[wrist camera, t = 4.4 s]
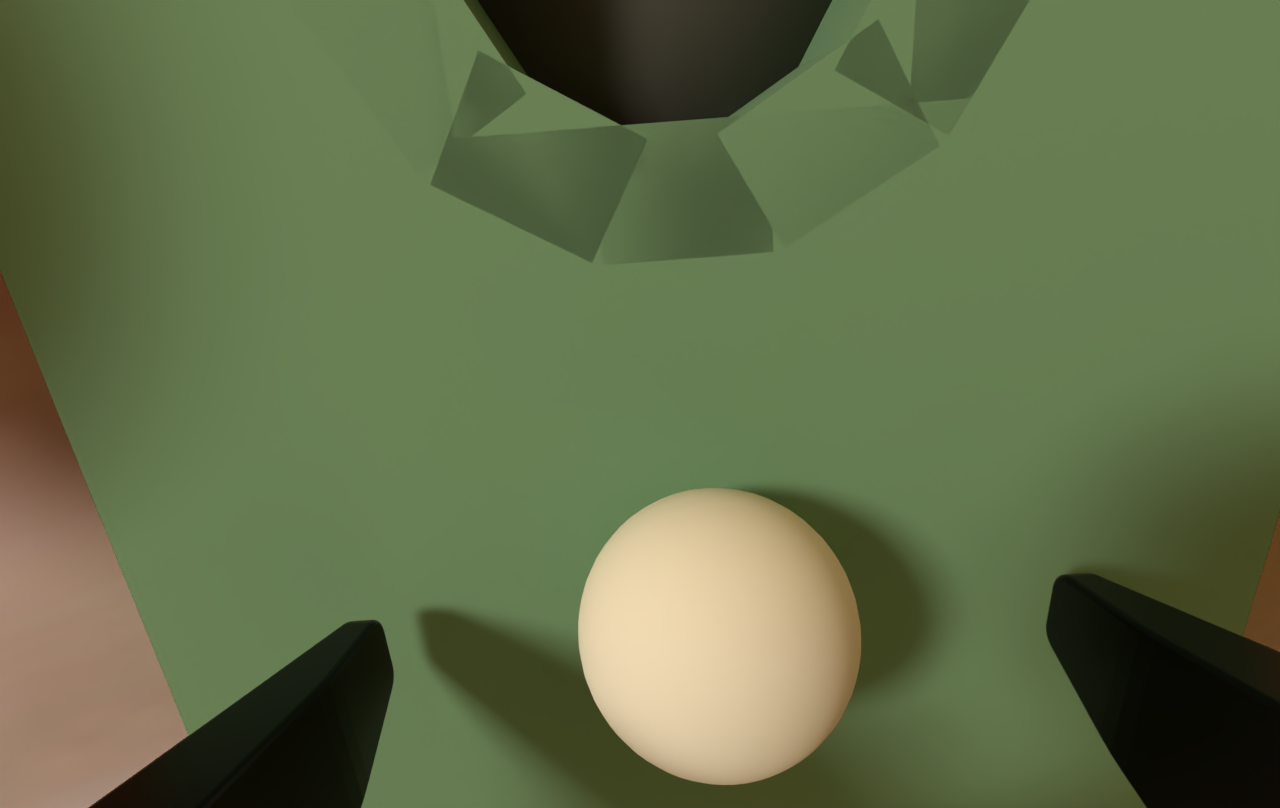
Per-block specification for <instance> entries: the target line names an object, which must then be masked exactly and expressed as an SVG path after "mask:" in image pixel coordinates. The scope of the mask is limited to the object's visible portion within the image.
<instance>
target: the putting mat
mask: <svg viewBox="0 0 1280 808" xmlns="http://www.w3.org/2000/svg"><path fill="white" fill-rule="evenodd" d="M0 272H1V274H2V277H3V279H4V282H5V284H6V286H7V289H8V291H9V294H10V296H11V299H12V301H13V304H14V306H15V309H16V311H17V314H18V316H19V319H20V321H21V323H22V326H23V328H24V331H25V333H26V336H27V338H28V341H29V343H30V346H31V348H32V351H33V353H34V356H35V358H36V360H37V363H38V365H39V368H40V370H41V373H42V375H43V378H44V380H45V383H46V385H47V388H48V390H49V392H50V395H51V397H52V400H53V402H54V405H55V407H56V410H57V412H58V415H59V417H60V420H61V422H62V425H63V427H64V429H65V432H66V434H67V437H68V439H69V442H70V444H71V447H72V449H73V452H74V454H75V457H76V459H77V461H78V464H79V466H80V469H81V471H82V474H83V476H84V479H85V481H86V484H87V486H88V489H89V491H90V494H91V496H92V498H93V501H94V503H95V506H96V508H97V511H98V513H99V516H100V518H101V521H102V523H103V526H104V528H105V530H106V533H107V535H108V538H109V540H110V543H111V545H112V548H113V550H114V553H115V555H116V558H117V560H118V563H119V565H120V567H121V570H122V572H123V575H124V577H125V580H126V582H127V585H128V587H129V590H130V592H131V595H132V597H133V600H134V602H135V604H136V607H137V609H138V612H139V614H140V617H141V619H142V622H143V624H144V627H145V629H146V632H147V634H148V636H149V639H150V641H151V644H152V646H153V649H154V651H155V654H156V656H157V659H158V661H159V664H160V666H161V669H162V671H163V673H164V676H165V678H166V681H167V683H168V686H169V688H170V691H171V693H172V696H173V698H174V701H175V703H176V705H177V708H178V710H179V713H180V715H181V718H182V720H183V723H184V725H185V728H186V730H187V733H188V735H190V734H192V733H193V732H194V731H196V730H197V729H199V728H200V727H201V726H203V725H204V724H206V723H207V722H208V721H210V720H211V719H213V718H214V717H215V716H217V715H218V714H220V713H221V712H222V711H224V710H225V709H226V708H228V707H229V706H231V705H232V704H233V703H235V702H236V701H238V700H239V699H240V698H242V697H243V696H245V695H246V694H247V693H249V692H250V691H252V690H253V689H254V688H256V687H257V686H258V685H260V684H261V683H263V682H264V681H265V680H267V679H268V678H270V677H271V676H272V675H274V674H275V673H277V672H278V671H279V670H281V669H282V668H283V667H285V666H286V665H288V664H289V663H290V662H292V661H293V660H295V659H296V658H297V657H299V656H300V655H302V654H303V653H304V652H306V651H307V650H308V649H310V648H311V647H313V646H314V645H315V644H317V643H318V642H320V641H321V640H322V639H324V638H325V637H327V636H328V635H329V634H331V633H332V632H333V631H335V630H336V629H338V628H339V627H340V626H342V625H343V624H345V623H347V622H349V621H359V620H377V621H379V622H380V623H381V624H382V626H383V629H384V632H385V636H386V640H387V644H388V648H389V652H390V656H391V660H392V664H393V669H394V682H393V688H392V692H391V696H390V700H389V704H388V708H387V712H386V716H385V720H384V724H383V728H382V732H381V736H380V740H379V744H378V748H377V751H376V755H375V759H374V763H373V767H372V771H371V775H370V779H369V783H368V787H367V790H366V794H365V797H364V801H363V804H362V807H361V808H1146V806H1145V805H1144V803H1143V802H1142V800H1141V799H1140V798H1139V796H1138V795H1137V793H1136V792H1135V790H1134V789H1133V787H1132V786H1131V784H1130V783H1129V781H1128V780H1127V778H1126V777H1125V775H1124V774H1123V772H1122V771H1121V769H1120V768H1119V766H1118V765H1117V763H1116V761H1115V760H1114V758H1113V757H1112V755H1111V754H1110V752H1109V750H1108V749H1107V747H1106V745H1105V744H1104V742H1103V740H1102V738H1101V737H1100V735H1099V733H1098V731H1097V730H1096V728H1095V726H1094V724H1093V722H1092V720H1091V719H1090V717H1089V715H1088V713H1087V711H1086V710H1085V708H1084V706H1083V704H1082V702H1081V700H1080V699H1079V697H1078V695H1077V693H1076V691H1075V689H1074V688H1073V686H1072V684H1071V682H1070V680H1069V678H1068V677H1067V675H1066V673H1065V671H1064V669H1063V668H1062V666H1061V664H1060V662H1059V660H1058V658H1057V657H1056V655H1055V653H1054V651H1053V649H1052V647H1051V645H1050V643H1049V641H1048V638H1047V633H1046V621H1047V616H1048V610H1049V605H1050V599H1051V594H1052V588H1053V584H1054V581H1055V580H1056V578H1057V577H1058V576H1060V575H1063V574H1075V573H1093V574H1096V575H1098V576H1101V577H1103V578H1105V579H1108V580H1110V581H1113V582H1115V583H1117V584H1120V585H1122V586H1124V587H1127V588H1129V589H1131V590H1134V591H1136V592H1139V593H1141V594H1143V595H1146V596H1148V597H1150V598H1153V599H1155V600H1158V601H1160V602H1162V603H1165V604H1167V605H1169V606H1172V607H1174V608H1176V609H1179V610H1181V611H1184V612H1186V613H1188V614H1191V615H1193V616H1195V617H1198V618H1200V619H1203V620H1205V621H1207V622H1210V623H1212V624H1214V625H1217V626H1219V627H1222V628H1224V629H1226V630H1229V631H1231V632H1233V633H1236V634H1238V635H1240V636H1243V633H1244V629H1245V626H1246V623H1247V619H1248V616H1249V613H1250V609H1251V606H1252V603H1253V599H1254V596H1255V593H1256V589H1257V586H1258V583H1259V579H1260V576H1261V573H1262V569H1263V566H1264V563H1265V560H1266V556H1267V553H1268V550H1269V546H1270V543H1271V540H1272V536H1273V533H1274V530H1275V526H1276V523H1277V520H1278V516H1279V513H1280V0H0ZM700 488H726V489H736V490H741V491H746V492H750V493H754V494H757V495H760V496H762V497H765V498H768V499H770V500H772V501H774V502H776V503H778V504H780V505H782V506H784V507H785V508H787V509H789V510H790V511H792V512H793V513H795V514H796V515H798V516H799V517H800V518H802V519H803V520H804V521H805V522H806V523H807V524H808V525H810V526H811V527H812V528H813V529H814V530H815V531H816V532H817V533H818V534H819V535H820V536H821V537H822V538H823V539H824V541H825V542H826V543H827V545H828V546H829V547H830V548H831V550H832V551H833V553H834V554H835V556H836V557H837V559H838V560H839V562H840V564H841V566H842V567H843V569H844V571H845V573H846V575H847V578H848V580H849V583H850V585H851V588H852V591H853V594H854V596H855V599H856V604H857V610H858V615H859V620H860V625H861V658H860V665H859V671H858V675H857V680H856V683H855V687H854V690H853V694H852V696H851V698H850V700H849V702H848V705H847V707H846V709H845V711H844V713H843V715H842V717H841V719H840V720H839V722H838V723H837V725H836V726H835V728H834V729H833V731H832V732H831V733H830V734H829V735H828V736H827V738H826V739H825V740H824V741H823V742H822V743H821V745H820V746H819V747H818V748H817V749H816V750H814V751H813V752H812V753H811V754H810V755H809V756H808V757H806V758H805V759H803V760H802V761H801V762H799V763H798V764H796V765H794V766H792V767H791V768H789V769H787V770H785V771H783V772H781V773H779V774H776V775H774V776H772V777H769V778H766V779H763V780H760V781H756V782H751V783H746V784H737V785H715V784H706V783H700V782H695V781H690V780H687V779H683V778H680V777H677V776H675V775H672V774H670V773H667V772H666V771H664V770H662V769H660V768H658V767H657V766H655V765H653V764H651V763H650V762H648V761H646V760H645V759H643V758H642V757H641V756H639V755H638V754H637V753H635V752H634V751H633V750H632V749H631V748H630V747H629V746H628V745H627V744H626V743H625V742H624V741H623V740H622V739H621V738H620V737H619V736H618V735H617V734H616V733H615V732H614V730H613V729H612V728H611V727H610V725H609V724H608V722H607V721H606V719H605V718H604V716H603V715H602V713H601V712H600V710H599V708H598V706H597V705H596V703H595V701H594V699H593V696H592V694H591V691H590V689H589V686H588V684H587V681H586V678H585V676H584V671H583V667H582V662H581V657H580V651H579V639H578V619H579V610H580V604H581V599H582V594H583V591H584V587H585V584H586V580H587V578H588V576H589V573H590V571H591V569H592V567H593V565H594V562H595V560H596V558H597V556H598V555H599V553H600V552H601V550H602V548H603V547H604V545H605V544H606V543H607V541H608V540H609V539H610V538H611V537H612V535H613V534H614V533H615V532H616V531H617V530H618V528H619V527H620V526H621V525H622V524H624V523H625V522H626V521H627V520H628V519H629V518H630V517H631V516H633V515H634V514H636V513H637V512H639V511H640V510H641V509H643V508H645V507H646V506H648V505H650V504H652V503H654V502H656V501H658V500H660V499H662V498H664V497H667V496H670V495H672V494H675V493H679V492H683V491H687V490H693V489H700Z"/></svg>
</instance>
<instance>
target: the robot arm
mask: <svg viewBox="0 0 1280 808" xmlns="http://www.w3.org/2000/svg"><path fill="white" fill-rule="evenodd" d="M1046 633H1047V638H1048V641H1049V643H1050V645H1051V647H1052V649H1053V651H1054V653H1055V655H1056V657H1057V658H1058V660H1059V662H1060V664H1061V666H1062V668H1063V669H1064V671H1065V673H1066V675H1067V677H1068V678H1069V680H1070V682H1071V684H1072V686H1073V688H1074V689H1075V691H1076V693H1077V695H1078V697H1079V699H1080V700H1081V702H1082V704H1083V706H1084V708H1085V710H1086V711H1087V713H1088V715H1089V717H1090V719H1091V720H1092V722H1093V724H1094V726H1095V728H1096V730H1097V731H1098V733H1099V735H1100V737H1101V738H1102V740H1103V742H1104V744H1105V745H1106V747H1107V749H1108V750H1109V752H1110V754H1111V755H1112V757H1113V758H1114V760H1115V761H1116V763H1117V765H1118V766H1119V768H1120V769H1121V771H1122V772H1123V774H1124V775H1125V777H1126V778H1127V780H1128V781H1129V783H1130V784H1131V786H1132V787H1133V789H1134V790H1135V792H1136V793H1137V795H1138V796H1139V798H1140V799H1141V800H1142V802H1143V803H1144V805H1145V806H1146V808H1280V652H1278V651H1276V650H1274V649H1271V648H1269V647H1267V646H1264V645H1262V644H1259V643H1257V642H1255V641H1252V640H1250V639H1248V638H1245V637H1243V636H1240V635H1238V634H1236V633H1233V632H1231V631H1229V630H1226V629H1224V628H1222V627H1219V626H1217V625H1214V624H1212V623H1210V622H1207V621H1205V620H1203V619H1200V618H1198V617H1195V616H1193V615H1191V614H1188V613H1186V612H1184V611H1181V610H1179V609H1176V608H1174V607H1172V606H1169V605H1167V604H1165V603H1162V602H1160V601H1158V600H1155V599H1153V598H1150V597H1148V596H1146V595H1143V594H1141V593H1139V592H1136V591H1134V590H1131V589H1129V588H1127V587H1124V586H1122V585H1120V584H1117V583H1115V582H1113V581H1110V580H1108V579H1105V578H1103V577H1101V576H1098V575H1096V574H1093V573H1075V574H1063V575H1060V576H1058V577H1057V578H1056V580H1055V581H1054V584H1053V588H1052V594H1051V599H1050V605H1049V610H1048V616H1047V621H1046ZM393 682H394V669H393V664H392V660H391V656H390V652H389V648H388V644H387V640H386V636H385V632H384V629H383V626H382V624H381V623H380V622H379V621H377V620H359V621H349V622H347V623H345V624H343V625H342V626H340V627H339V628H338V629H336V630H335V631H333V632H332V633H331V634H329V635H328V636H327V637H325V638H324V639H322V640H321V641H320V642H318V643H317V644H315V645H314V646H313V647H311V648H310V649H308V650H307V651H306V652H304V653H303V654H302V655H300V656H299V657H297V658H296V659H295V660H293V661H292V662H290V663H289V664H288V665H286V666H285V667H283V668H282V669H281V670H279V671H278V672H277V673H275V674H274V675H272V676H271V677H270V678H268V679H267V680H265V681H264V682H263V683H261V684H260V685H258V686H257V687H256V688H254V689H253V690H252V691H250V692H249V693H247V694H246V695H245V696H243V697H242V698H240V699H239V700H238V701H236V702H235V703H233V704H232V705H231V706H229V707H228V708H226V709H225V710H224V711H222V712H221V713H220V714H218V715H217V716H215V717H214V718H213V719H211V720H210V721H208V722H207V723H206V724H204V725H203V726H201V727H200V728H199V729H197V730H196V731H194V732H193V733H192V734H190V735H189V736H188V737H186V738H185V739H183V740H182V741H181V742H179V743H178V744H176V745H175V746H174V747H172V748H171V749H169V750H168V751H167V752H165V753H164V754H162V755H161V756H160V757H158V758H157V759H155V760H154V761H153V762H151V763H150V764H149V765H147V766H146V767H144V768H143V769H142V770H140V771H139V772H137V773H136V774H135V775H133V776H132V777H130V778H129V779H128V780H126V781H125V782H123V783H122V784H121V785H119V786H118V787H117V788H115V789H114V790H112V791H111V792H110V793H108V794H107V795H105V796H104V797H103V798H101V799H100V800H98V801H97V802H96V803H94V804H93V805H91V806H90V807H89V808H361V807H362V804H363V801H364V797H365V794H366V790H367V787H368V783H369V779H370V775H371V771H372V767H373V763H374V759H375V755H376V751H377V748H378V744H379V740H380V736H381V732H382V728H383V724H384V720H385V716H386V712H387V708H388V704H389V700H390V696H391V692H392V688H393Z"/></svg>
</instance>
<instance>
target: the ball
mask: <svg viewBox="0 0 1280 808" xmlns="http://www.w3.org/2000/svg"><path fill="white" fill-rule="evenodd" d="M578 639H579V651H580V657H581V662H582V667H583V671H584V676H585V678H586V681H587V684H588V686H589V689H590V691H591V694H592V696H593V699H594V701H595V703H596V705H597V706H598V708H599V710H600V712H601V713H602V715H603V716H604V718H605V719H606V721H607V722H608V724H609V725H610V727H611V728H612V729H613V730H614V732H615V733H616V734H617V735H618V736H619V737H620V738H621V739H622V740H623V741H624V742H625V743H626V744H627V745H628V746H629V747H630V748H631V749H632V750H633V751H634V752H635V753H637V754H638V755H639V756H641V757H642V758H643V759H645V760H646V761H648V762H650V763H651V764H653V765H655V766H657V767H658V768H660V769H662V770H664V771H666V772H667V773H670V774H672V775H675V776H677V777H680V778H683V779H687V780H690V781H695V782H700V783H706V784H715V785H737V784H746V783H751V782H756V781H760V780H763V779H766V778H769V777H772V776H774V775H776V774H779V773H781V772H783V771H785V770H787V769H789V768H791V767H792V766H794V765H796V764H798V763H799V762H801V761H802V760H803V759H805V758H806V757H808V756H809V755H810V754H811V753H812V752H813V751H814V750H816V749H817V748H818V747H819V746H820V745H821V743H822V742H823V741H824V740H825V739H826V738H827V736H828V735H829V734H830V733H831V732H832V731H833V729H834V728H835V726H836V725H837V723H838V722H839V720H840V719H841V717H842V715H843V713H844V711H845V709H846V707H847V705H848V702H849V700H850V698H851V696H852V694H853V690H854V687H855V683H856V680H857V675H858V671H859V665H860V658H861V625H860V620H859V615H858V610H857V604H856V599H855V596H854V594H853V591H852V588H851V585H850V583H849V580H848V578H847V575H846V573H845V571H844V569H843V567H842V566H841V564H840V562H839V560H838V559H837V557H836V556H835V554H834V553H833V551H832V550H831V548H830V547H829V546H828V545H827V543H826V542H825V541H824V539H823V538H822V537H821V536H820V535H819V534H818V533H817V532H816V531H815V530H814V529H813V528H812V527H811V526H810V525H808V524H807V523H806V522H805V521H804V520H803V519H802V518H800V517H799V516H798V515H796V514H795V513H793V512H792V511H790V510H789V509H787V508H785V507H784V506H782V505H780V504H778V503H776V502H774V501H772V500H770V499H768V498H765V497H762V496H760V495H757V494H754V493H750V492H746V491H741V490H736V489H726V488H700V489H693V490H687V491H683V492H679V493H675V494H672V495H670V496H667V497H664V498H662V499H660V500H658V501H656V502H654V503H652V504H650V505H648V506H646V507H645V508H643V509H641V510H640V511H639V512H637V513H636V514H634V515H633V516H631V517H630V518H629V519H628V520H627V521H626V522H625V523H624V524H622V525H621V526H620V527H619V528H618V530H617V531H616V532H615V533H614V534H613V535H612V537H611V538H610V539H609V540H608V541H607V543H606V544H605V545H604V547H603V548H602V550H601V552H600V553H599V555H598V556H597V558H596V560H595V562H594V565H593V567H592V569H591V571H590V573H589V576H588V578H587V580H586V584H585V587H584V591H583V594H582V599H581V604H580V610H579V619H578Z"/></svg>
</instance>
